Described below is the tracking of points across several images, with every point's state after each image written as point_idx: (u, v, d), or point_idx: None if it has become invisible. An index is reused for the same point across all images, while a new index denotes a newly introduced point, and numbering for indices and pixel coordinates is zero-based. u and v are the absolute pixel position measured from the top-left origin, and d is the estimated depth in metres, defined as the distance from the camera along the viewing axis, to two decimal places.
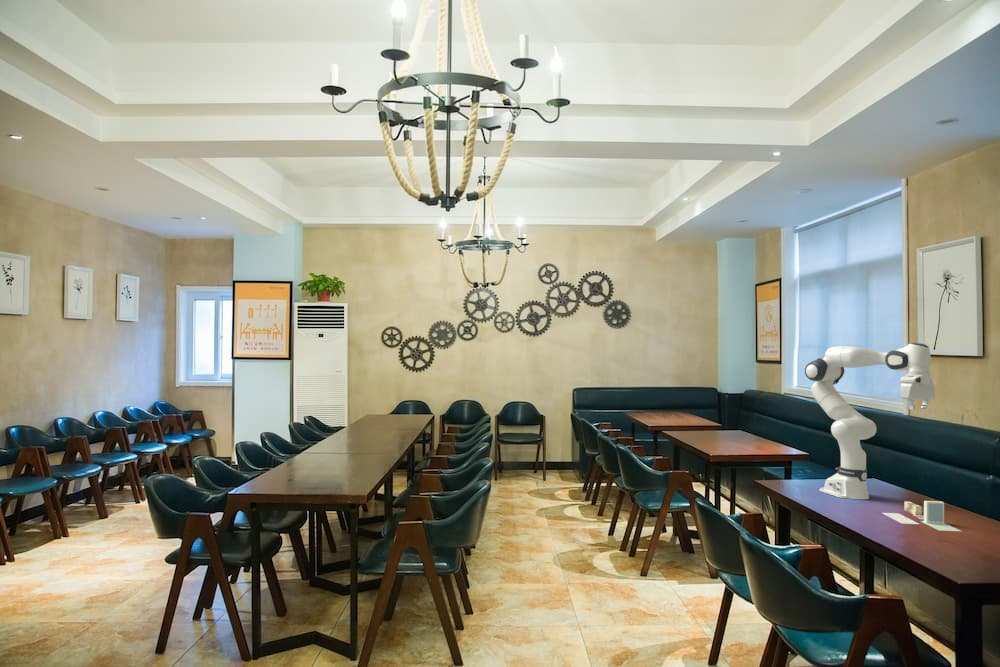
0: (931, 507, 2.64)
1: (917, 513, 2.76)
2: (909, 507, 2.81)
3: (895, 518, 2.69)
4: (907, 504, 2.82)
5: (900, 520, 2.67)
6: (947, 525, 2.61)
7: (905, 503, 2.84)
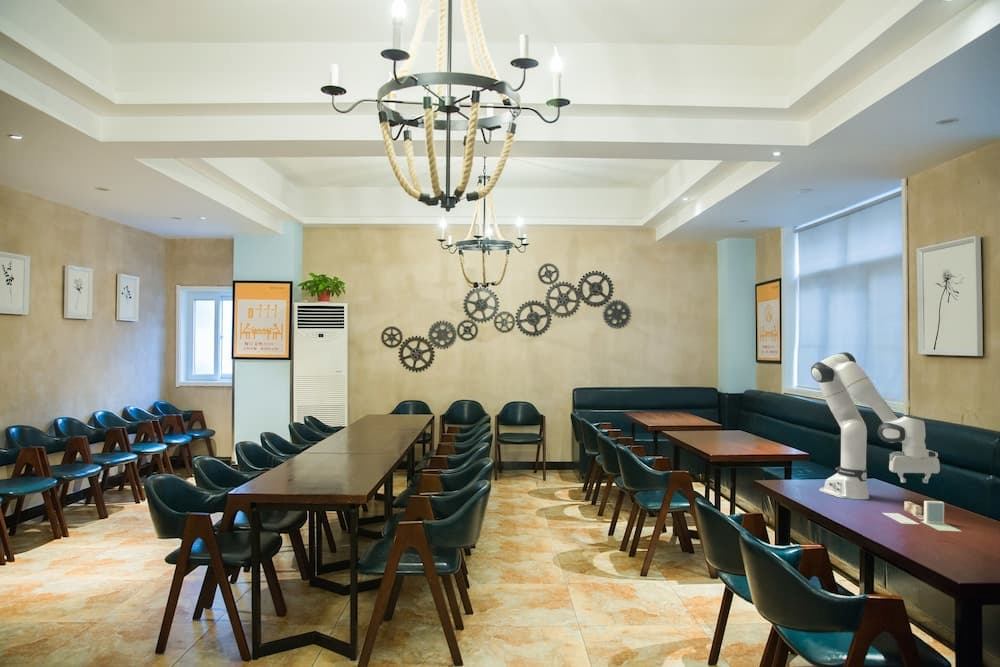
0: (931, 507, 2.64)
1: (917, 513, 2.76)
2: (909, 507, 2.81)
3: (895, 518, 2.69)
4: (907, 504, 2.82)
5: (900, 520, 2.67)
6: (947, 525, 2.61)
7: (905, 503, 2.84)
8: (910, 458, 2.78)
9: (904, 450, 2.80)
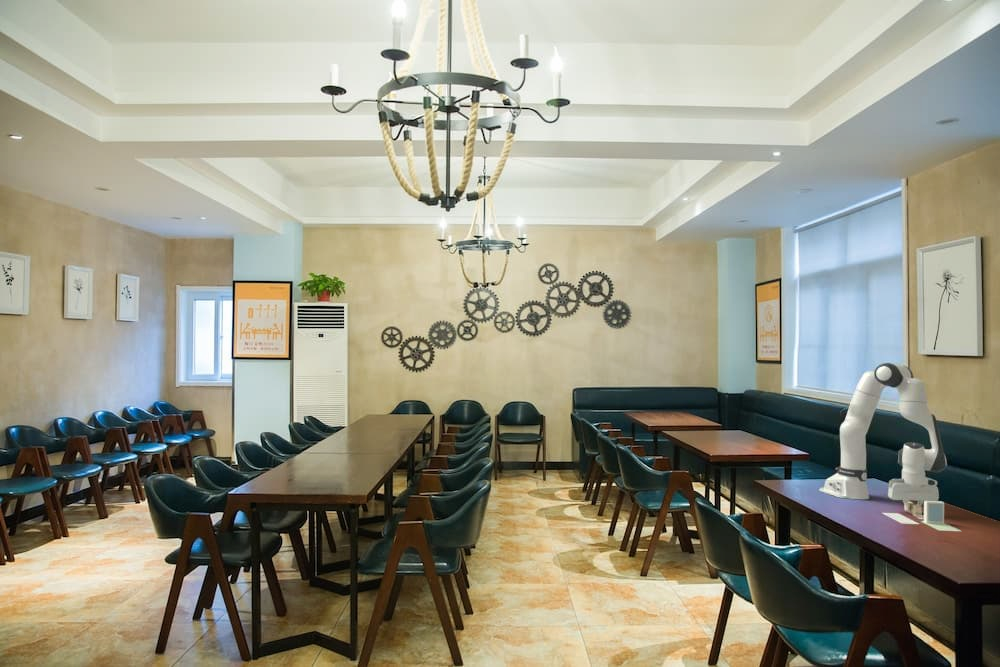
0: (931, 507, 2.64)
1: (917, 513, 2.76)
2: None
3: (895, 518, 2.69)
4: None
5: (900, 520, 2.67)
6: (947, 525, 2.61)
7: None
8: (909, 486, 2.78)
9: (904, 477, 2.80)
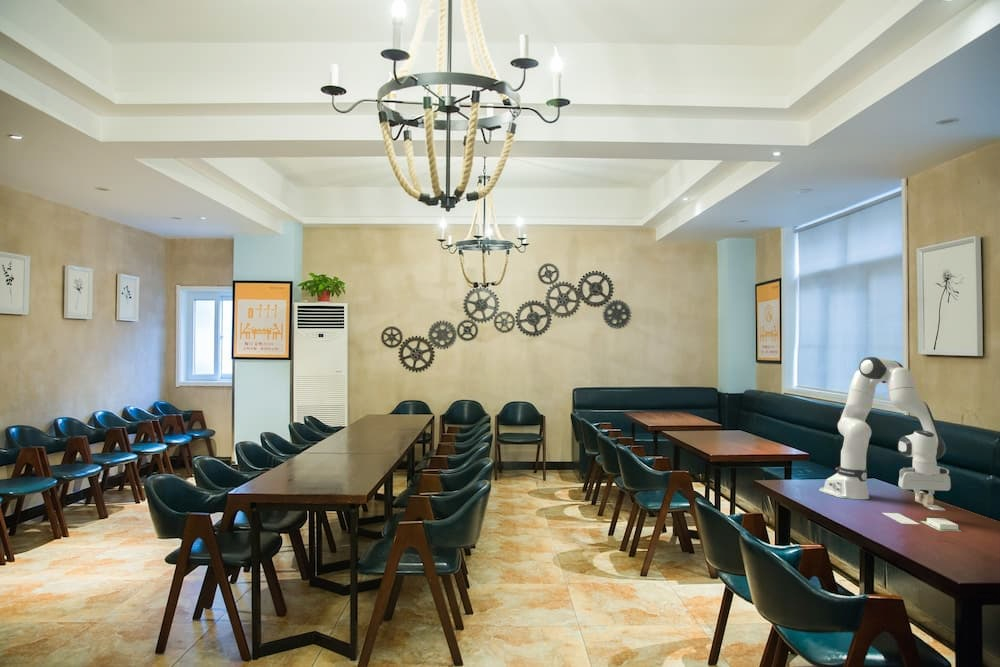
0: None
1: (929, 503, 2.68)
2: None
3: (895, 518, 2.69)
4: None
5: (900, 520, 2.67)
6: None
7: None
8: (920, 475, 2.71)
9: (914, 466, 2.72)
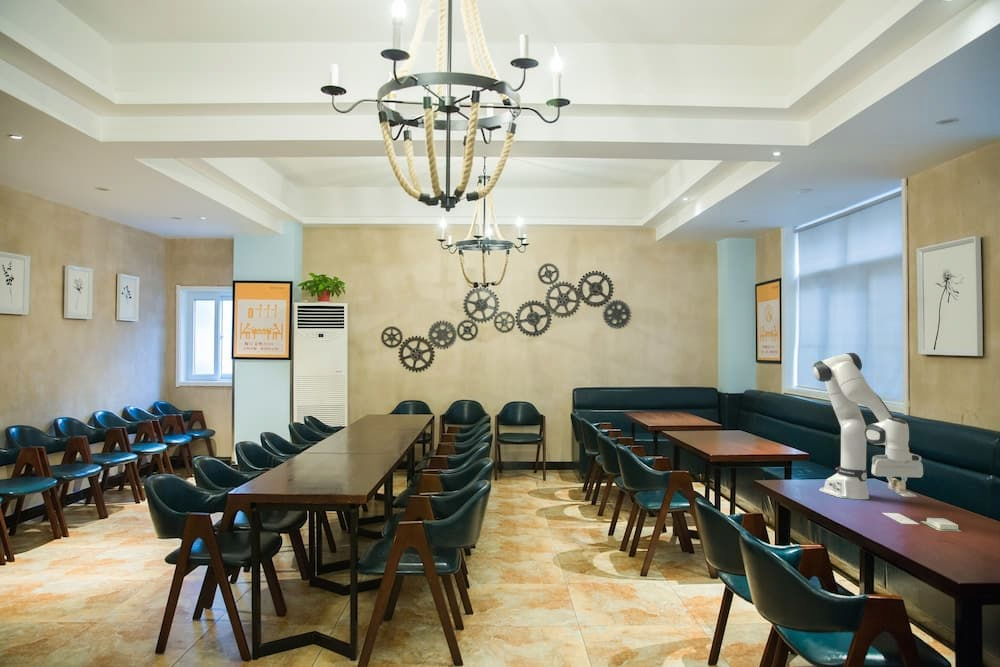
0: None
1: (901, 489, 2.69)
2: None
3: (895, 518, 2.69)
4: None
5: (900, 520, 2.67)
6: None
7: None
8: (893, 462, 2.71)
9: (887, 453, 2.73)
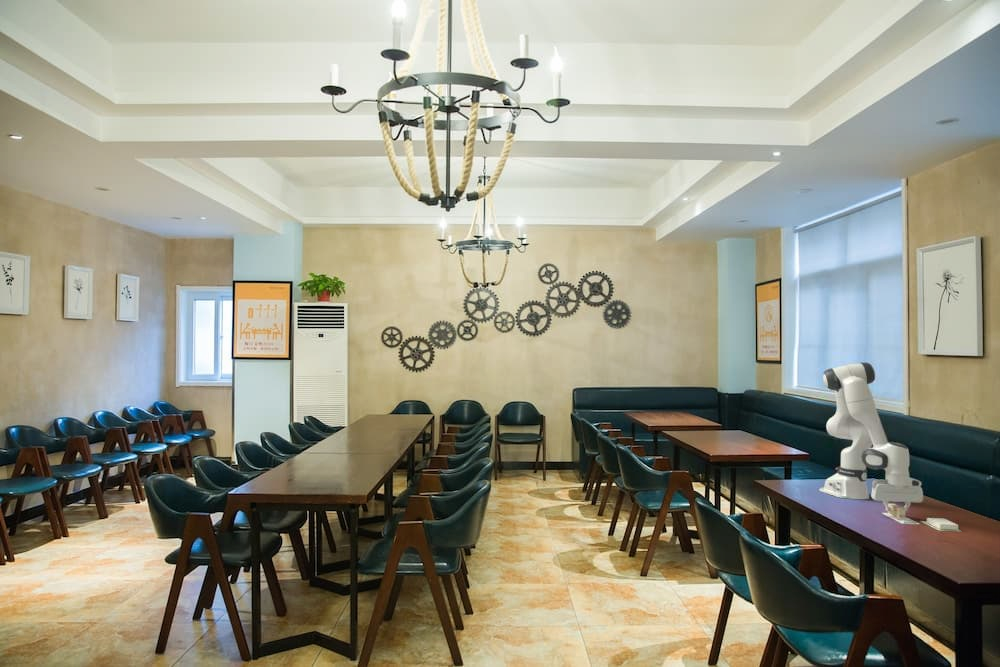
0: None
1: (901, 515, 2.69)
2: (893, 510, 2.74)
3: (895, 518, 2.69)
4: (891, 506, 2.75)
5: None
6: None
7: (889, 505, 2.77)
8: (893, 486, 2.71)
9: (887, 478, 2.73)
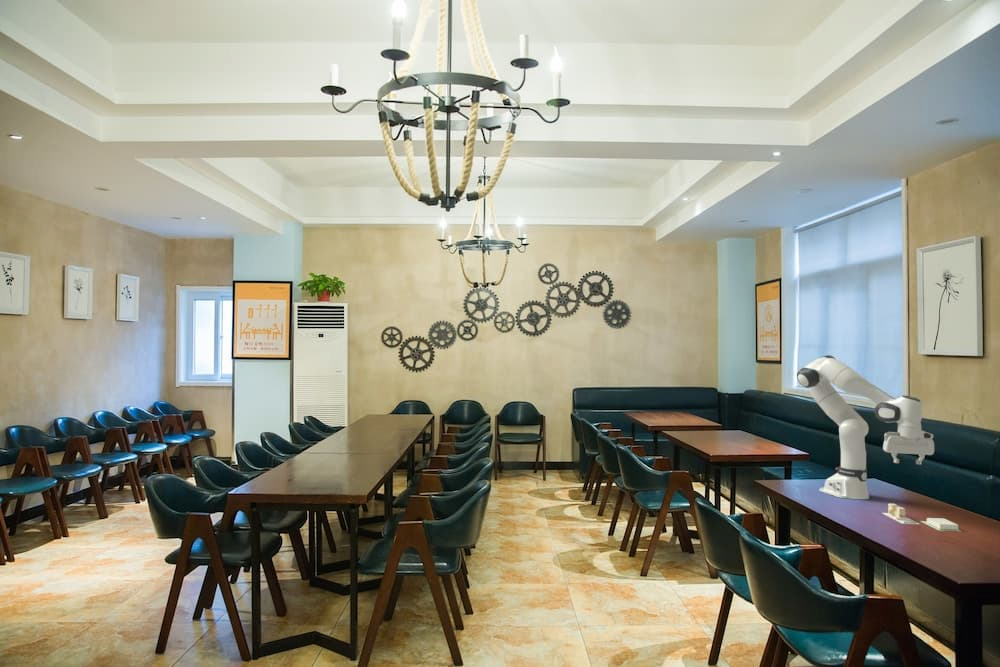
0: None
1: (901, 515, 2.69)
2: (893, 510, 2.74)
3: (895, 518, 2.69)
4: (891, 506, 2.75)
5: None
6: None
7: (889, 505, 2.77)
8: (905, 439, 2.76)
9: (899, 430, 2.77)
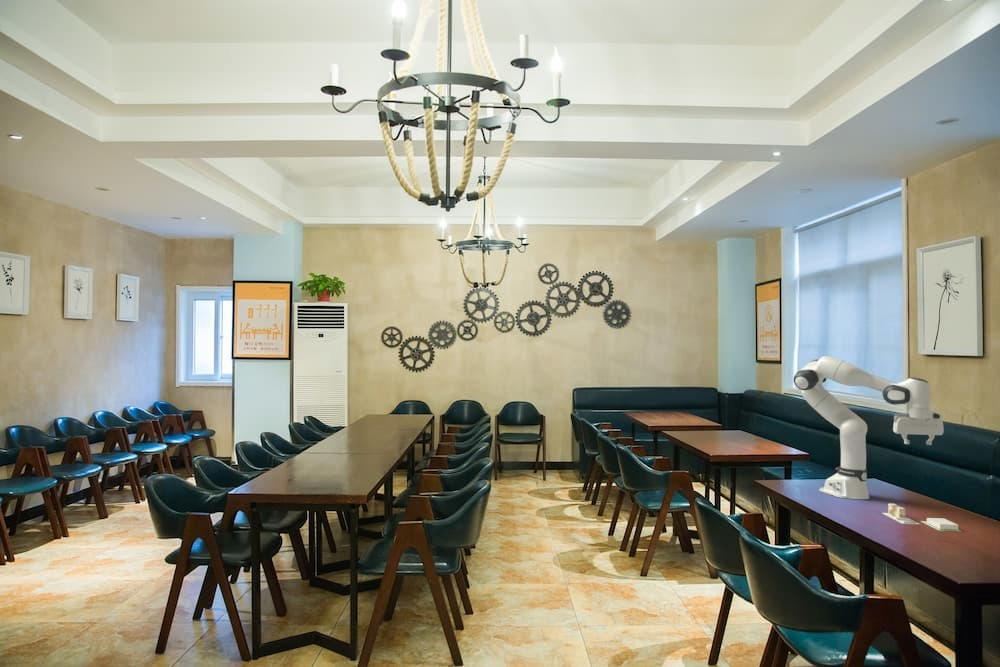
0: None
1: (901, 515, 2.69)
2: (893, 510, 2.74)
3: (895, 518, 2.69)
4: (891, 506, 2.75)
5: None
6: None
7: (889, 505, 2.77)
8: (914, 420, 2.79)
9: (908, 412, 2.81)
